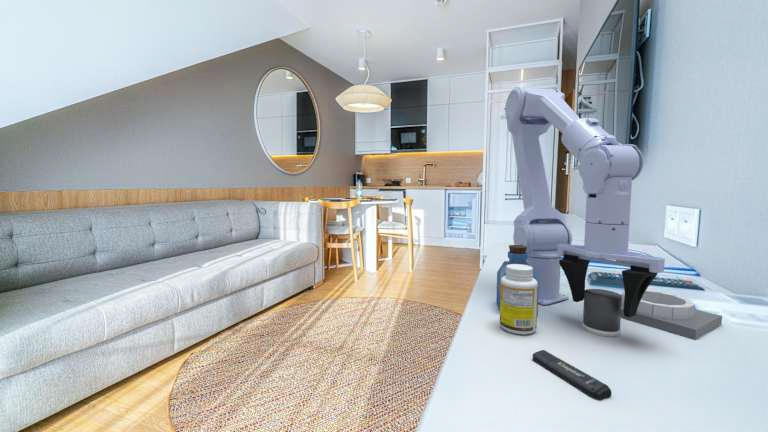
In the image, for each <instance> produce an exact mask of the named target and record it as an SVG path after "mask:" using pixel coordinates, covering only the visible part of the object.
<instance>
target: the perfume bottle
mask: <svg viewBox="0 0 768 432" xmlns="http://www.w3.org/2000/svg"><path fill="white" fill-rule="evenodd" d="M508 248H509V251H507V258H508V261H507V260H504V261H503V263H502V264H501V266H499V269H498V270H497V272H496V276H497V277H496V297H495V298H496V302H495V303H496V305H497V308H498V310H499V311H500V289H501V278H502V277H504V276H506V266H507V265H509V264H522V265H528V266H530V265H529V264H528V263H527V262H526V259H528V253H526V249H527V246H523V245H515V244H510V245H508ZM533 278H534V279H535V280H536V281H537V282H538V280H537V278H536V276H535V274H534V272H533ZM538 292H539V282H538ZM538 313H539V303H538V297H537V318H538V315H539V314H538Z"/></svg>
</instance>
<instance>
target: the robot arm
mask: <svg viewBox="0 0 768 432" xmlns="http://www.w3.org/2000/svg"><path fill="white" fill-rule="evenodd" d="M565 98H566V97H565V93H564V92H561V90H560V89H559V88H538V87H537V88H536V87H522V86H521V87H520V86H515V87H513V89H512V90H511V91H510V92H509V94H508V96H507V100H506V103H505V107H504V113H505V118H506V123H507V124H506V125H507V129H508V130H507V131H508V133H510V134H511V136H512V143H513V144H512V145H513V150H514V158H515V161H516V168H517V174H518V180H519V185H520V192H521V198H522V203H523V211H522V212H520V213H519V215H517V216H516V217H515V219H514V220H513V227H514V228H513V229H514V230H513V243H514V244H513V245H523V246H527V249H526V253H528V259H526V262H527V263H528V264H529V265H530V266H531V267H532V268H533V272H534V274H535V276H536V278H537V280H538V282H539V292H538V304H540V305H544V306H548V305H550V304H555V303H558V302H561V301H565V300H569V296H568V295H566V294H562V293H560V286H561V285H560V284H561V269H562V270H563V273H564V275H565V277H566V280H567V283H568V286H569V290H570V294H571V298H572V302H575V303H579V302H584V291H585V290H586V279H587V272H588V268H589V264H590V261H591V262H592V261H593V262H597V263H603V264H609V265H614V266H621V267H626V268H629V269H624V270H622V271H621V276H622V281H623V288H624V290H623V291H624V292H625V298H624V316H626V317H632V316H635V315H636V312H637V309H638V306H639V303H640V301H641V298H642V296H643V294H644V293H645V291H646V290H648V287H649V286H650V284H652V282H653V281H654V280H655V278H656V277H657V276H658V274H659V273H662V272H663V273H664V272H665V262H666V261H665V260H666V259H665V257H658V256H652V255H647V254H643V253H639V252H633V251H629V238H630V237H629V236H630V222H631V221H630V220H631V219H630V218H631V205H632V203H631V202H632V188H633V187H632V183H633V181H634V180H635V179H637V178H638V176H640V174H641V173H642V170H643V167H644V156H643V154H642V152H641V150H640V149H639V148H638V146H637V145H635V144H631V143H625V144H622V143H621V142H618V141H617V136H615V135H614V134H610V133H608V132H607V131H606V130H604V129H603V127H601V126H600V125H599V124H600V120H598V119H597V118H595V117H594V118H593V117H591V118H590V117H581V118H580V117H579V116H578V115H577V113H576V112H575V111H574V110H573V109H572V108H571V106H570V105H569V104H568V103H567V102H566V101H565ZM551 126H554V128H556V129H557V130H558V131H559V132H560V133H562V135H561V137H560V140H561V143H562V145H563V146H564V147H565V148H566V149H567V151H569V152H570V154H571V155H573V157H574V158H575V159H576V160H577V161H578V163H579V164H578V173H579V176H580V177H581V179H582V183H583V184H582V188H583V189H582V190H584V191H583V192H584V193H585V194H586V202H585V204H586V205H585V224H584V245H578V244H577V245H576V244H572V242H573V235H572V234H573V233H572V231H571V229H570V228H569V225H567V221H566V218H565V217H566V216H565V215H564V213H562V212H560V211H559V210H558V209H556V208H555V207H553V205H552V201H551V196H550V190H549V185H548V180H547V175H546V170H545V164H544V158H543V154H542V150H541V149H542V148H541V144H540V143H541V142H540V136H542V135H543V134H545V133H547V132H548V130H549V129H550V127H551Z"/></svg>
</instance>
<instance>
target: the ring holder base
mask: <svg viewBox="0 0 768 432" xmlns="http://www.w3.org/2000/svg"><path fill="white" fill-rule="evenodd" d="M620 295H622V306H621V319H625V320H629V321H631V322H635V323H637V324H638V323H639V324H642V325H646V326H649V327H651V328H654V329H655V328H656V329H658V330H662V331H666V332H668V333H672V334H675V335H678V336H682V337H685V338H688V339H692V340H694V341H695V340H697V339H699V338H701V337H702V336H705V335H706V334H708V333H710V332H711V331H713V330H715V329H717V328H718V327H720V326H722V324H723V323H722V322H723V321H722V320H723V315H719V314H716V313H713V312H708V311H703V310H700V309H696V303H695V302H693V301H692V300H691V299H689V298H687V297H683V296H681V295H677V294H673V293H669V292H665V291H658V290H653V289H652V290H651V289H646V291H645V293H644V294H643V296H642V298H641V301H640V303H639V306H638V309H637V312H636V315H635V316H632V317H626V316H624V298H625V292H624V290H623V291H622V294H620Z"/></svg>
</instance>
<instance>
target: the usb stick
mask: <svg viewBox="0 0 768 432" xmlns="http://www.w3.org/2000/svg"><path fill="white" fill-rule="evenodd" d="M532 361H533V362H535V363H537V364H538V365H540V366H542V367H543V368H544V369H546V370H547V371H549V372H550V373H553V375H556V376H557V377H559V378H560V379H562V380H564V381H565V382H567V383H569V384H570V385H571V386H573V387H575V388H576V389H578V390H580V391H581V392H582V393H585V394H586V395H588V396H589V397H590V398H592V399H595V400H598V401H603V400H606V399H609V398H611V397H612V390H611V388H610V387H609V385H608V384H606V383H603V382H602V381H600V380H599V379H597V378H595V377H593V376H591V375H590V374H588V373H586V372H584V370H583V371H582V370H581V369H578V368H577V367H575V366H574V365H572V364H570V363H568V362H566V361H565V360H563V359H561V358H559V357H557V356H555V355H554V354H552V353H551V352H549V351H547V350H545V349H541V350H538V351H536V352H533V354H532Z"/></svg>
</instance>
